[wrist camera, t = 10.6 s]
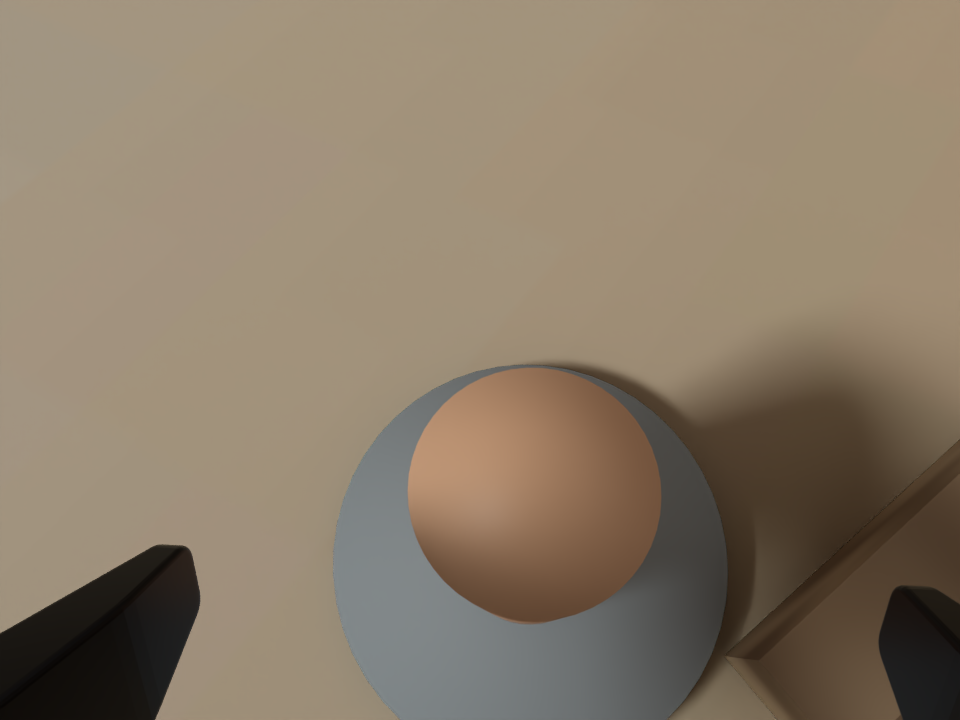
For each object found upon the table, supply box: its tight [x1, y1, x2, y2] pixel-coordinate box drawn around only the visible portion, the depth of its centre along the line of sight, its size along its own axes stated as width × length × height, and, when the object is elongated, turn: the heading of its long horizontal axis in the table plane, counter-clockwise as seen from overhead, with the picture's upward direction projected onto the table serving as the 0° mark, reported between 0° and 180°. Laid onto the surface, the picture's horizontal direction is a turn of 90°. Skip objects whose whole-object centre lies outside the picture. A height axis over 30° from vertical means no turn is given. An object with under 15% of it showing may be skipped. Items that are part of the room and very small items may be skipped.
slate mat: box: [333, 365, 728, 720], centre depth 20 cm, size 11×11×1 cm
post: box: [408, 368, 661, 625], centre depth 15 cm, size 4×4×9 cm
